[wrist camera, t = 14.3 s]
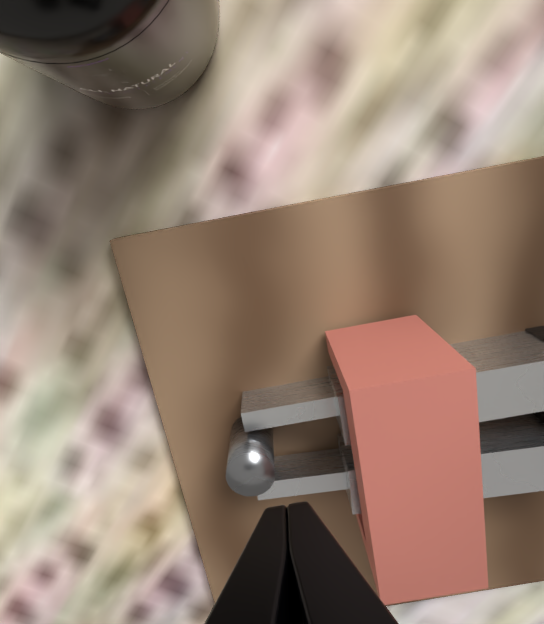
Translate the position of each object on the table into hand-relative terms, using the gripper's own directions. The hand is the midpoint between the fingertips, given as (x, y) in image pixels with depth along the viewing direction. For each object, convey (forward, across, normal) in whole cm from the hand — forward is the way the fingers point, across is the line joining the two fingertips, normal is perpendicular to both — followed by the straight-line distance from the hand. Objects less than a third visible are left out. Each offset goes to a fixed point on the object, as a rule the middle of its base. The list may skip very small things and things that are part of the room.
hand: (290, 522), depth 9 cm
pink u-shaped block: (+11, -4, +5) cm, 13 cm away
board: (+12, -4, +6) cm, 15 cm away
